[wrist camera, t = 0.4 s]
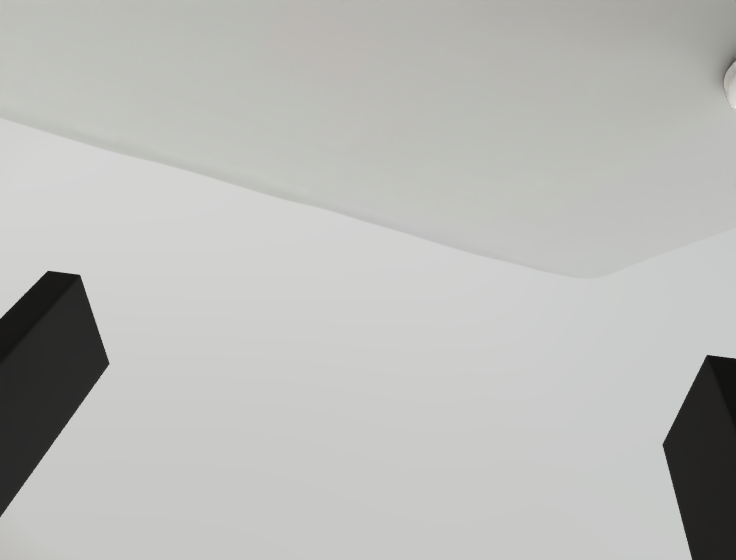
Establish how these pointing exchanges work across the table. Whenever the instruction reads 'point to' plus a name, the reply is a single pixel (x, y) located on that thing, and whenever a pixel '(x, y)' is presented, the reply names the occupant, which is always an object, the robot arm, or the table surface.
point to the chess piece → (731, 85)
